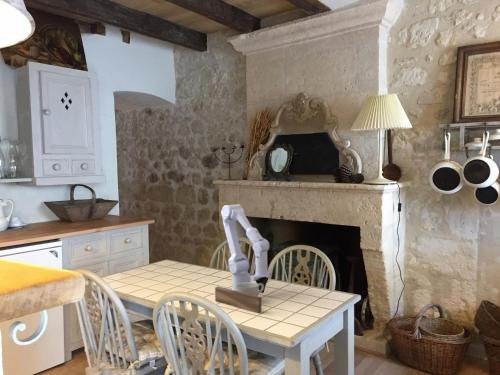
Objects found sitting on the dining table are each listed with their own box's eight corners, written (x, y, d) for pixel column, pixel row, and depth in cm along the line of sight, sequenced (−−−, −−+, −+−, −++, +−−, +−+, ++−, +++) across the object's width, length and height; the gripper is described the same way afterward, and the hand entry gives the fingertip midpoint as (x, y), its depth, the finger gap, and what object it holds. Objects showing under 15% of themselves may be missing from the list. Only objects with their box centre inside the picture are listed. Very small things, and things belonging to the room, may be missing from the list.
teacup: (239, 306, 179) (238, 288, 178) (233, 298, 189) (233, 282, 189) (268, 303, 182) (268, 286, 182) (261, 296, 193) (261, 279, 192)
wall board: (218, 300, 187) (218, 286, 187) (261, 312, 171) (261, 297, 171) (215, 301, 186) (215, 287, 186) (258, 313, 169) (258, 298, 169)
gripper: (258, 269, 183) (258, 298, 184) (276, 263, 194) (277, 290, 195) (246, 266, 188) (247, 295, 188) (265, 261, 199) (265, 287, 199)
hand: (261, 292), depth 192 cm, fingers closed
